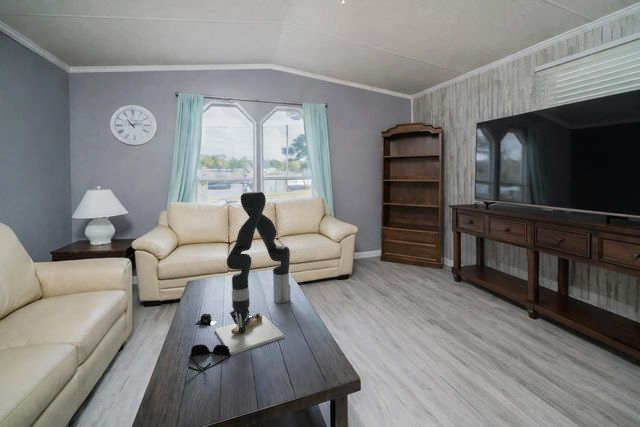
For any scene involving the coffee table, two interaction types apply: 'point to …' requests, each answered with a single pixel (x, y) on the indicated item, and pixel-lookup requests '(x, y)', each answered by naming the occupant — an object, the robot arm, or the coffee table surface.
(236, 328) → the oak link
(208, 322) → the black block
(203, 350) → the sunglasses
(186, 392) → the coffee table surface
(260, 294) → the coffee table surface
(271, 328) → the board
